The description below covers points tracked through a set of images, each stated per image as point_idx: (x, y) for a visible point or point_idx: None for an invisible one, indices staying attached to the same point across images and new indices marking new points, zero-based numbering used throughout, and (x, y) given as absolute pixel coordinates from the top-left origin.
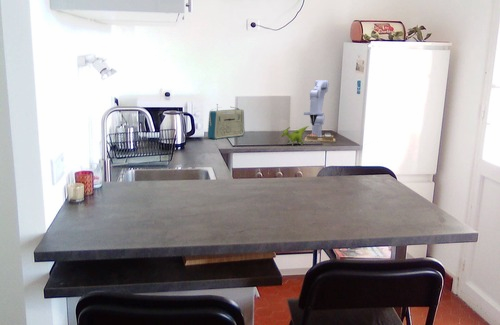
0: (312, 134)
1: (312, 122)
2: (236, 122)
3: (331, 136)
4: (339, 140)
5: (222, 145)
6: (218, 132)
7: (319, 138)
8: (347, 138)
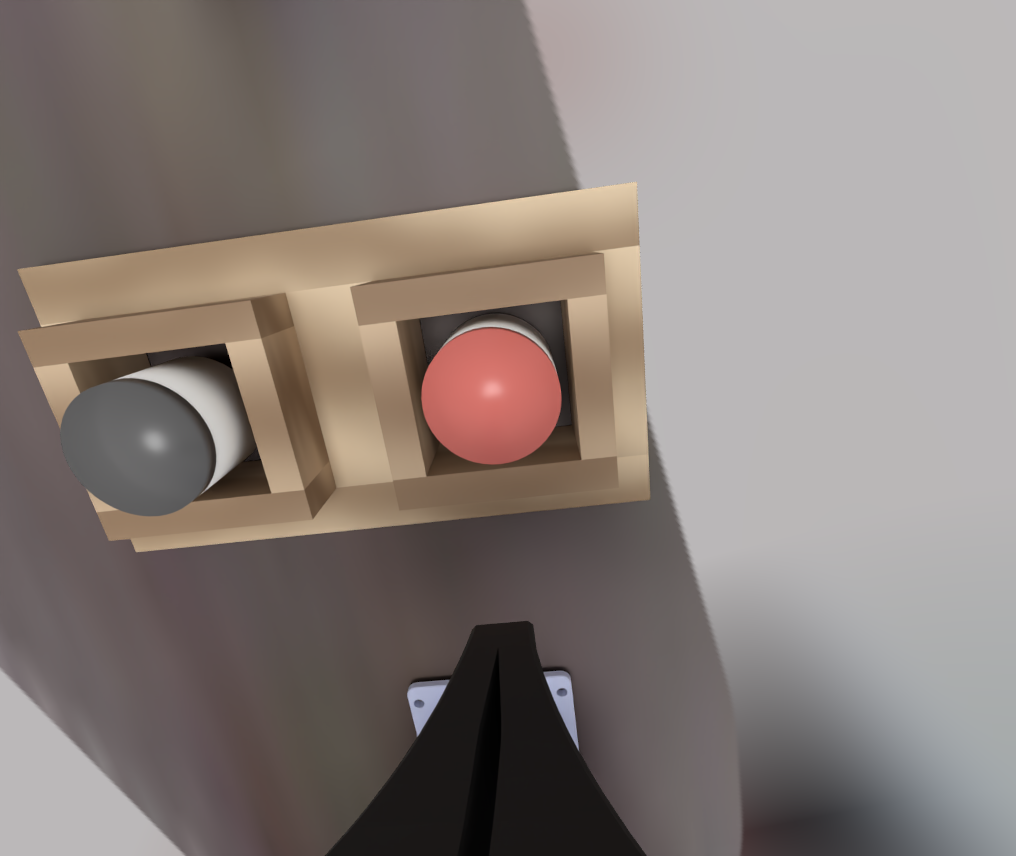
0: (487, 367)
1: (522, 681)
2: None
3: None
4: (74, 522)
5: None
6: None
7: (379, 460)
8: (46, 713)
